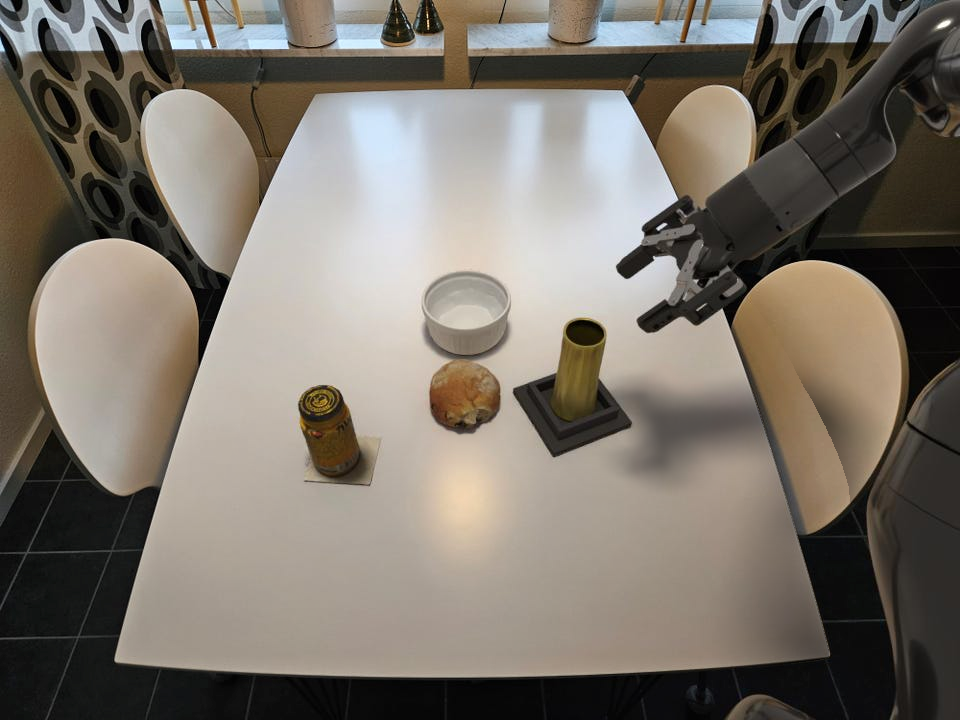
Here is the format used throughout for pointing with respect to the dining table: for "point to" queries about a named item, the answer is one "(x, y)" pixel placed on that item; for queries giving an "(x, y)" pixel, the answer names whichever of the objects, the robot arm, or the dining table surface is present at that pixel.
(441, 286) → the ramekin
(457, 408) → the bread roll
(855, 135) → the robot arm
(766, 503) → the dining table surface
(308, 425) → the condiment
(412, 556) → the dining table surface
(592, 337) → the vase
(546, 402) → the base pad
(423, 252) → the dining table surface
